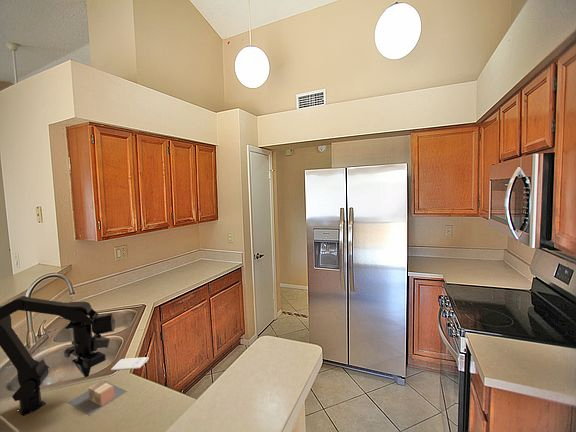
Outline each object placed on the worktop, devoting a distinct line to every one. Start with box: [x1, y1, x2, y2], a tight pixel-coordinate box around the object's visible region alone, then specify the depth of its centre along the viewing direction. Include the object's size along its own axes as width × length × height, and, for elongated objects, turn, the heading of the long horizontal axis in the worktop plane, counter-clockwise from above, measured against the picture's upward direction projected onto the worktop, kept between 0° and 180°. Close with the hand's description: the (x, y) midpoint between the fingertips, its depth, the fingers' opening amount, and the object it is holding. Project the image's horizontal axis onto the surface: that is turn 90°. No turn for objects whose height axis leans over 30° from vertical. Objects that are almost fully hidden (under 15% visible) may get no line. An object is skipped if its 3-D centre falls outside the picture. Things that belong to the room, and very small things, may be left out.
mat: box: [67, 380, 128, 416], centre depth 104 cm, size 15×13×1 cm
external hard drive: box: [110, 356, 150, 371], centre depth 125 cm, size 2×8×12 cm
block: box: [88, 380, 115, 406], centre depth 103 cm, size 4×4×8 cm
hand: (86, 376), depth 107 cm, fingers closed
